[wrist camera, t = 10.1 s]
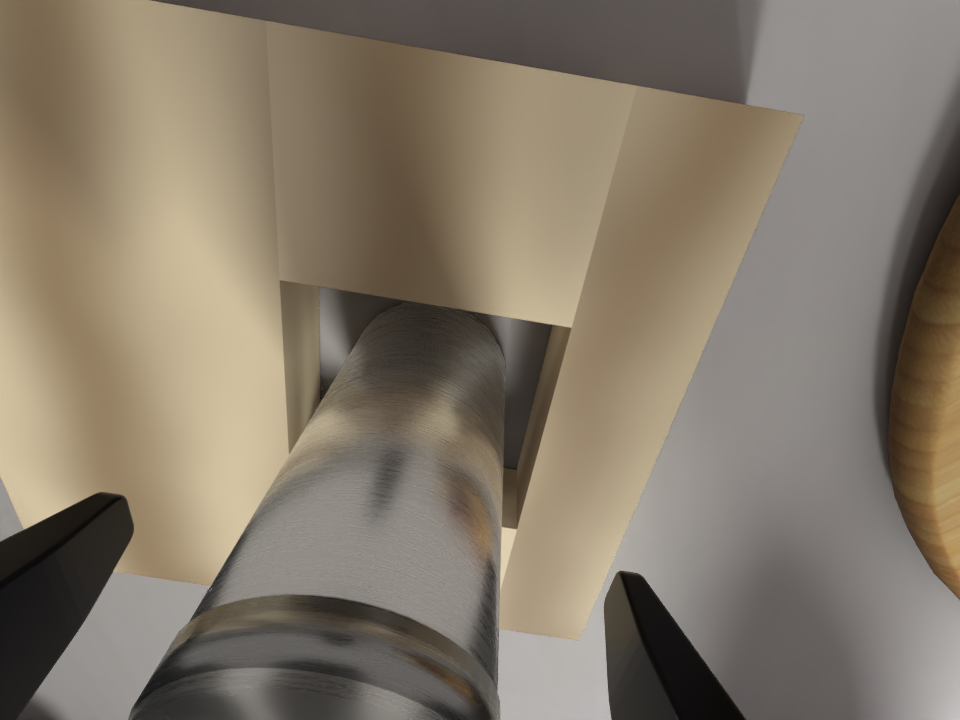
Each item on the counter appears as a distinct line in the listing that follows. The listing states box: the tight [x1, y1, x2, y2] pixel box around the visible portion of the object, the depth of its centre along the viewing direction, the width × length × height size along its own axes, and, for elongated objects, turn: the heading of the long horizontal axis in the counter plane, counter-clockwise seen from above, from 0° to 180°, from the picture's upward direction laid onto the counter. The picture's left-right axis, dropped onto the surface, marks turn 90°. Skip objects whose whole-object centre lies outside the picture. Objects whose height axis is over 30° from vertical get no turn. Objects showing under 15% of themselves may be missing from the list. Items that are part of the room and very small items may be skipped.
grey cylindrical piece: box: [128, 302, 506, 720], centre depth 10 cm, size 5×5×10 cm
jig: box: [0, 0, 804, 641], centre depth 14 cm, size 18×16×2 cm
